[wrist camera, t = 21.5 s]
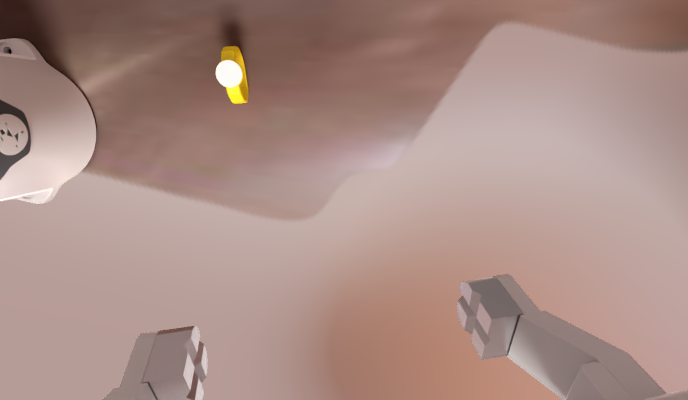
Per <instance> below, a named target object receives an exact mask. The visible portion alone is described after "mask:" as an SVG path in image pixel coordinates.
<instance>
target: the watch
mask: <svg viewBox="0 0 688 400" xmlns="http://www.w3.org/2000/svg"><path fill="white" fill-rule="evenodd" d="M216 77H217V80H218V81H219V83H220V84H222V85H223V86H225V87H226V90H227V93H228V96H229V98H230V100H231V101H232V102H233V103H235V104H239V103H246V102H247V100H248V85H247V78H246V71H245V64H244V61H243V57H242V54H241V52H240V50H239V48H238V47H237V46H229V47H223V49H222V54H221V62H220V63H219V64H218V66H217V68H216Z"/></svg>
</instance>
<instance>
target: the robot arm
mask: <svg viewBox="0 0 688 400" xmlns="http://www.w3.org/2000/svg"><path fill="white" fill-rule="evenodd" d="M9 49H11V51H12V53H11V54H9ZM95 143H96V125H95V120H94V116H93V113H92V110H91V108H90V106H89V104H88V102H87V100H86V99H85V97H84V96H83V94H82V93H81V91H80V90H79V89H78V88H77V87H76V86H75V84H74V83H72V82H71V81H70V80H69V79H68V78H67V77H66V76H64V75H63V74H61V73H60V72H59V71H57V70H56V69H54V68H53V67H51V66H50V65H49V64H48V63H47V62H46V61H45V60H44V59H43V57H42V56H41V55H40V53H39V52H38V51H37V49H36V48H35V47H34V46H33V45H32V44H31V43H30V42H29V41H27V40H25V39H19V38H11V39H3V40H0V201H5V200H9V199H18V200H23V201H27V202H32V203H37V204H41V203H46V202H49V201H51V200H52V199H53V197H54V196H55V195H56V193H57V192H58V190H59V188H60V186H61V185H62V184H63V183H65V182H66V181H68V180H69V179H71V178H73V177H74V176H76V175H77V174H78V173H80V172H81V171H82V170H83V169H84V167H85V166H86V165H87V164H88V162H89V160H90V159H91V157H92V154H93V152H94V148H95ZM460 291H461V293H462V295H463V296H462V297H461V298H460V299H459V300H458V306H457V311H458V317H459V320H460V322H461V324H462V326H463V328H464V330H465V331H467V332H469V333H470V334H472V339H471V342H472V344H473V346H474V348H475V350H476V351H477V353H478V355H479V356H480V358H481V360H484V359H489V358H496V357H502V356H507V357H508V358H509V359H511V360H512V361H513V362H515V363H516V364H517V365H519V366H520V367H521V368H522V369H524V370H525V371H526V372H528V373H529V374H530V375H532V376H533V377H534V378H536V379H537V380H538V381H539V382H541V383H542V384H543V385H545V386H546V387H547V388H549V389H550V390H551V391H553V392H554V393H555V394H556V395H558V396H559V397H561V398H562V399H563V400H688V389H686V390H682V391H677V392H673V393H668V394H667V393H666V392H665V391H664V390H663V389H662V388H661V387H660V386H659V385H658V384H657V383H656V382H655V381H654V380H653V379H652V378H651V377H650V375H648V373H647V372H646V371H645V370H644V369H643V368H642V367H641V366H640V365H639V364H638V363H637V362H636V361H635V360H634V359H633V358H632V357H631V356H630V355H629V354H628V353H626V352H625V351H623V350H621V349H618V348H617V347H615V346H613V345H611V344H609V343H607V342H605V341H603V340H601V339H599V338H597V337H595V336H593V335H591V334H589V333H588V332H586V331H583V330H582V329H580V328H578V327H576V326H574V325H572V324H570V323H568V322H566V321H564V320H562V319H560V318H558V317H556V316H554V315H552V314H551V313H548V312H547V311H540V310H539V309H538V307H537V306H536V305H535V304H534V303H533V301H532V300H531V299H530V298H529V297H528V295H527V294H526V293H525V292H524V291H523V289H522V288H521V287H520V286H519V284H518V283H517V282H516V281H515V280H514V279H513V277H512V276H511V275H509V274H504V275H498V276H493V277H486V278H480V279H474V280H469V281H463V283H462V284H461V287H460ZM199 339H200V332H199V329H198V327H197V326H191V327H184V328H177V329H170V330H163V331H157V332H150V333H143V334H140V336H139V337H138V338H137V339H136V342H135V345H134V348H133V351H132V354H131V356H130V360H129V362H128V365H127V368H126V371H125V373H124V376H123V379H122V382H121V385H120V387H119V388H115V389H113V390H112V391H111V392H110V393H109V394H108V395H107V396H106V397H105V398H104V399H103V400H203V396H204V390H203V388H202V385H201V382H203V380H204V379H205V378H206V375H207V353H206V348H205V345H204V344H203V343H202V342H200V341H199Z"/></svg>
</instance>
